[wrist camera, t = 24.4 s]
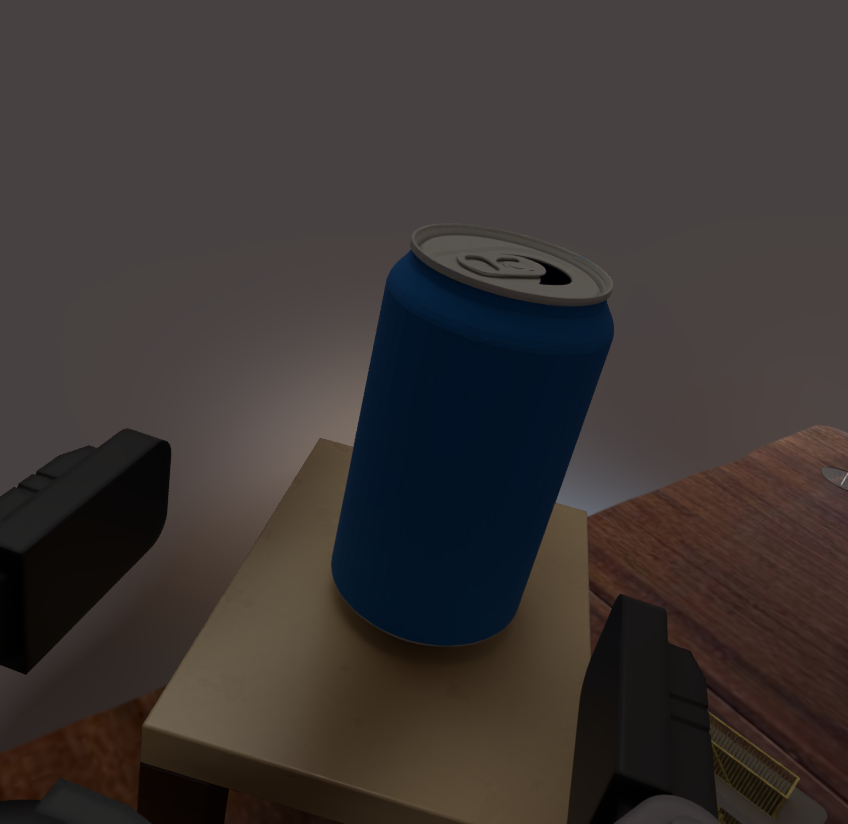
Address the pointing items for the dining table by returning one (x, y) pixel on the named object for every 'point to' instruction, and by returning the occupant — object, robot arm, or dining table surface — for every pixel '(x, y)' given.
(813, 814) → the platform
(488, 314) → the beverage can
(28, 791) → the dining table surface
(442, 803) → the stool
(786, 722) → the dining table surface
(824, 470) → the wineglass
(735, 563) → the dining table surface
